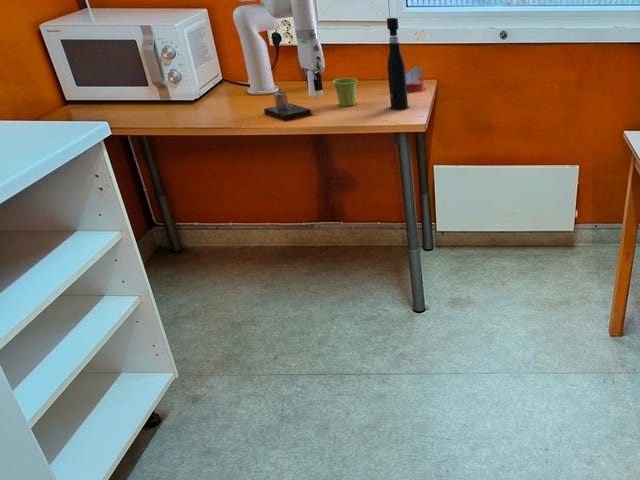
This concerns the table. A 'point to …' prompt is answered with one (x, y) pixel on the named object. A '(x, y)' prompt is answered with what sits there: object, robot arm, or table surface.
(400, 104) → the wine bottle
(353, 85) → the plant pot
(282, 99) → the hob knob
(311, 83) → the pepper shaker
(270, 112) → the black knob panel
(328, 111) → the table surface
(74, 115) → the table surface
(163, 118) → the table surface
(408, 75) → the tissue box
